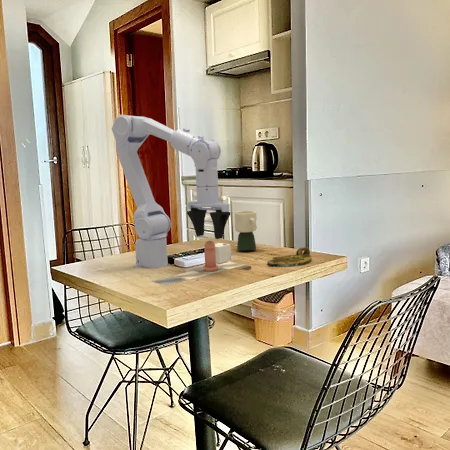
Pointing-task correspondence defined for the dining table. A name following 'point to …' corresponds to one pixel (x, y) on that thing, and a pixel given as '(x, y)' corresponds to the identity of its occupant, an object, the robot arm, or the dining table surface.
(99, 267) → the dining table surface
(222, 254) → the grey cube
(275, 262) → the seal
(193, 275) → the board
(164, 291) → the dining table surface
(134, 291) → the dining table surface
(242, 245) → the character mug
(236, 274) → the dining table surface
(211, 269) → the dildo
